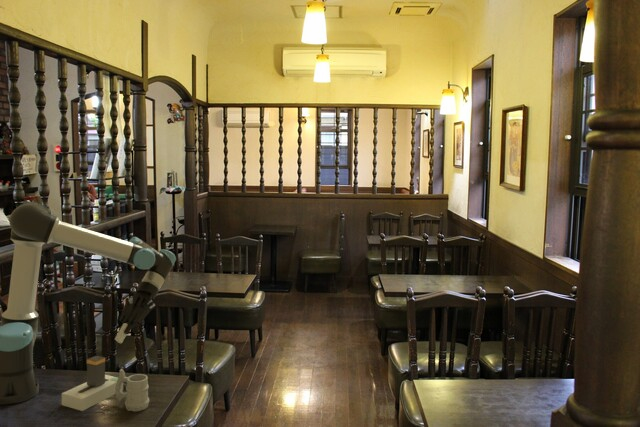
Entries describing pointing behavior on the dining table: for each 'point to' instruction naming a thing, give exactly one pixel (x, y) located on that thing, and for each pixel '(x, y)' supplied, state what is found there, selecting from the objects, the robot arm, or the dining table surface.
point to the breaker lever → (95, 371)
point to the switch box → (89, 394)
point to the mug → (133, 391)
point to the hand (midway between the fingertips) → (118, 341)
